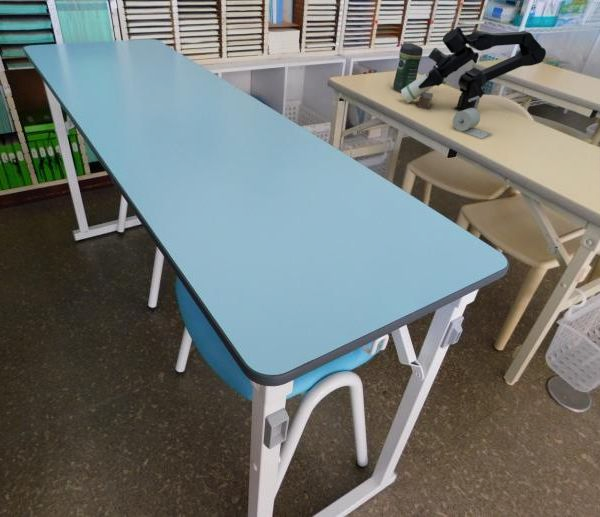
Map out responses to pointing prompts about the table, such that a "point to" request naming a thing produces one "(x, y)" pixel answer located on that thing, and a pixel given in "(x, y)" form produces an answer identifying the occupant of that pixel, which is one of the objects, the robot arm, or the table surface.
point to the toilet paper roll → (469, 120)
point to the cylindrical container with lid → (414, 89)
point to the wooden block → (425, 100)
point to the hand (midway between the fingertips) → (420, 85)
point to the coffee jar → (407, 65)
